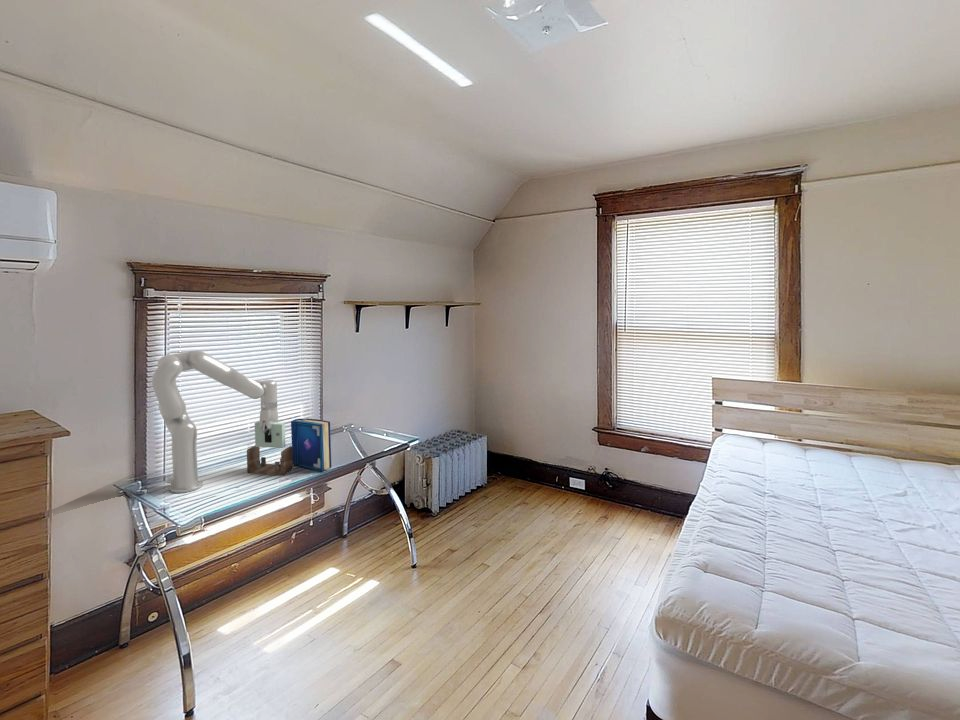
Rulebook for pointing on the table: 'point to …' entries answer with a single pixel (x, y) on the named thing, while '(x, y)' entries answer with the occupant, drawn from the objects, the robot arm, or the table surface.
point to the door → (276, 436)
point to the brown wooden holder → (270, 469)
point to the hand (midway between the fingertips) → (270, 440)
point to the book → (311, 443)
